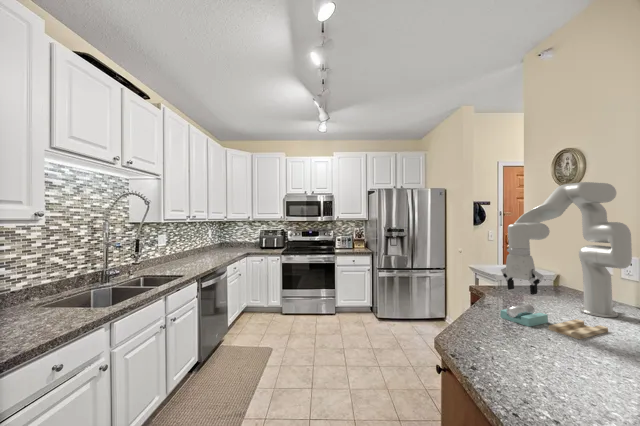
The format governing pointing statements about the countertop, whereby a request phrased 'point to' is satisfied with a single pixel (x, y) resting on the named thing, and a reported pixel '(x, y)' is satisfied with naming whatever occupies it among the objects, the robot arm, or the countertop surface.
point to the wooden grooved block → (577, 329)
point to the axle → (520, 310)
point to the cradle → (526, 318)
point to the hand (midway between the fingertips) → (522, 291)
